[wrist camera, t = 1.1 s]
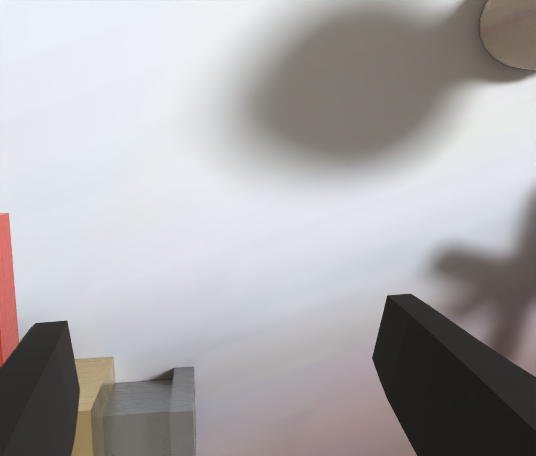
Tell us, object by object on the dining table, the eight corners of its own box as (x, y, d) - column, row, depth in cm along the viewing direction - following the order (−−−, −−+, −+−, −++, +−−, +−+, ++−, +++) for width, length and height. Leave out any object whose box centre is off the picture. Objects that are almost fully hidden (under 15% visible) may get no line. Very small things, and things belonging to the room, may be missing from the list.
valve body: (196, 459, 25) (196, 553, 19) (-93, 486, 23) (-197, 603, 17) (193, 352, 24) (192, 414, 18) (-106, 370, 22) (-221, 449, 16)
